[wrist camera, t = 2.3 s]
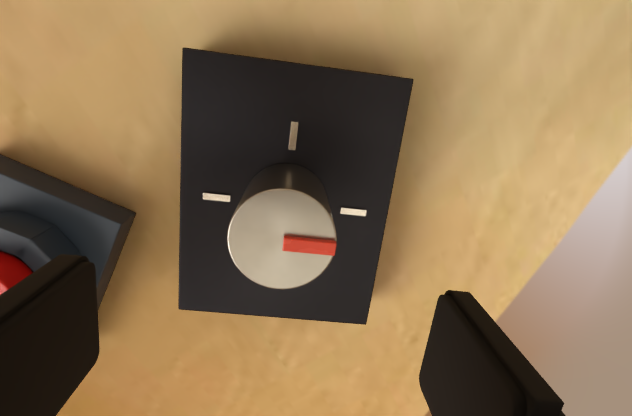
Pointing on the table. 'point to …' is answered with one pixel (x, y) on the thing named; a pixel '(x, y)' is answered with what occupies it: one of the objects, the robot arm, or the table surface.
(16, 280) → the power button
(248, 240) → the hob knob
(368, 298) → the panel
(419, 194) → the table surface
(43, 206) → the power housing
